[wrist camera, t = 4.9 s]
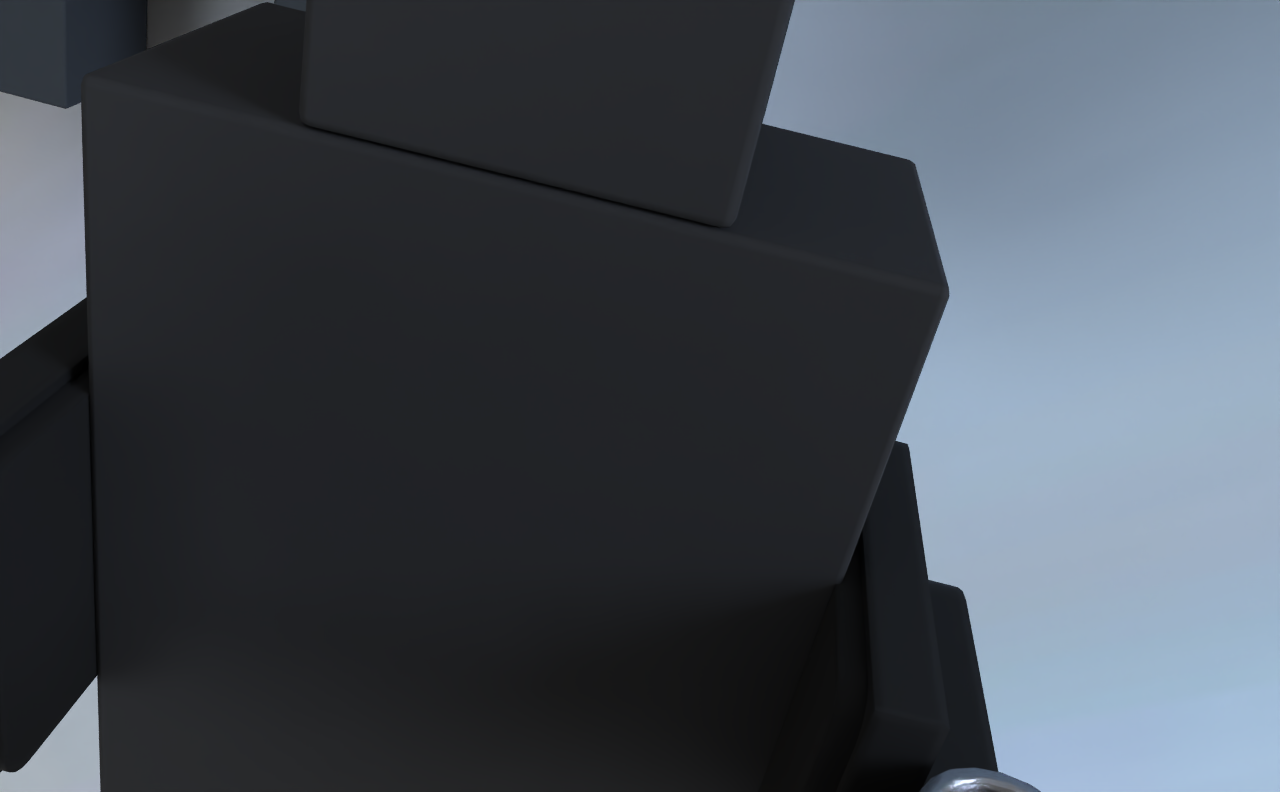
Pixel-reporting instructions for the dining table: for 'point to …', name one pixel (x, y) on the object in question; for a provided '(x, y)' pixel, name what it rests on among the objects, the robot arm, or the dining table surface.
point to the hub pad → (69, 43)
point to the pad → (479, 394)
